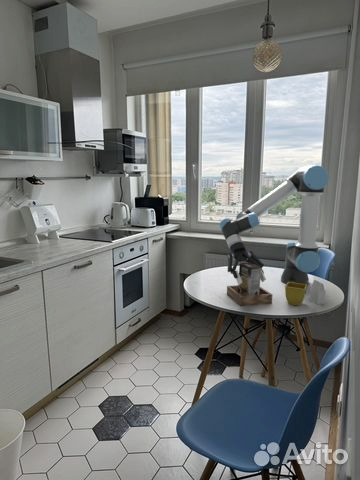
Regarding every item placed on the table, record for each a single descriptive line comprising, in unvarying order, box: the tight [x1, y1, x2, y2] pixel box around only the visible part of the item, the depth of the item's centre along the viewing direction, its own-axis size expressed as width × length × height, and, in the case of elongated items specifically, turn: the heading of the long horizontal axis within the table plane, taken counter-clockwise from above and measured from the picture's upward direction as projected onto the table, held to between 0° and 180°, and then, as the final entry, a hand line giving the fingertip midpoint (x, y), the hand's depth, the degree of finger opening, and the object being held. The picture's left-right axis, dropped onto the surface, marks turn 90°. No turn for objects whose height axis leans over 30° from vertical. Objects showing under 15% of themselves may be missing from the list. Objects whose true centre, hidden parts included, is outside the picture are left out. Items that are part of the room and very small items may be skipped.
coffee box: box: [238, 262, 261, 296], centre depth 158 cm, size 9×6×16 cm
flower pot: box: [284, 282, 308, 307], centre depth 154 cm, size 9×9×9 cm
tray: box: [226, 284, 273, 307], centre depth 159 cm, size 16×16×4 cm
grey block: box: [308, 279, 326, 305], centre depth 157 cm, size 4×7×10 cm, turn 10°
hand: (252, 282), depth 156 cm, fingers open, 13 cm apart
